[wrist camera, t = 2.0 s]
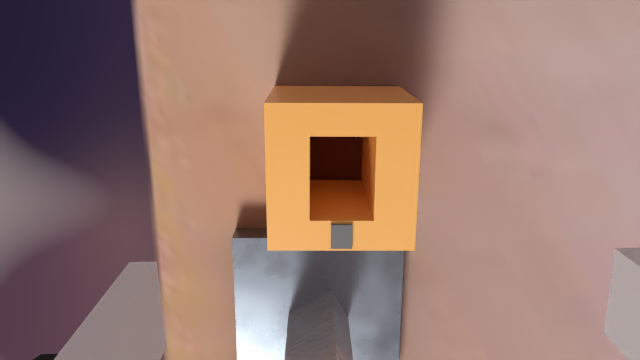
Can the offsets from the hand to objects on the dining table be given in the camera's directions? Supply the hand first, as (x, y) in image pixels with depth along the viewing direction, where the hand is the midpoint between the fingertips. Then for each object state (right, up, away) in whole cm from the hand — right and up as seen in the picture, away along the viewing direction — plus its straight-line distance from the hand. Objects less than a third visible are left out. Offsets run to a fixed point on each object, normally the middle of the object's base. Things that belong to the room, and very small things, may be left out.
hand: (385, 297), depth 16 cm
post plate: (-2, -4, +19) cm, 19 cm away
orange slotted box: (-1, +5, +16) cm, 17 cm away
